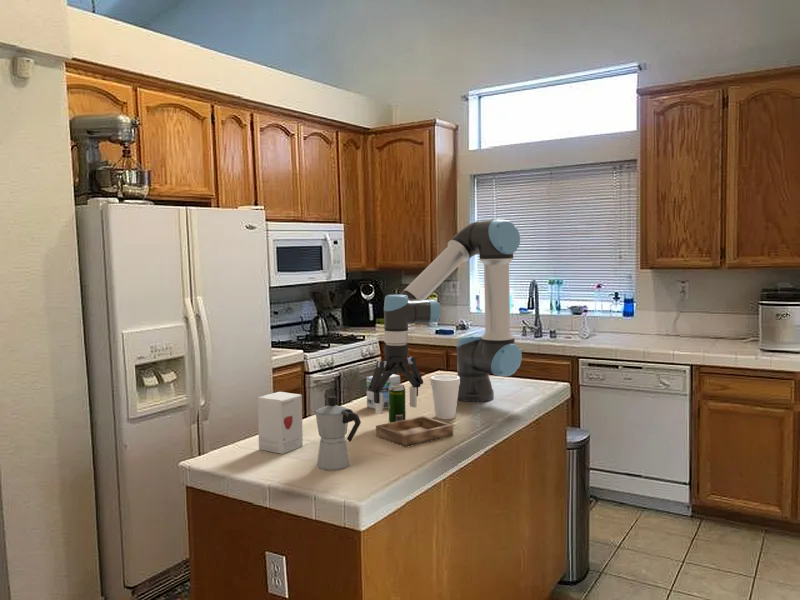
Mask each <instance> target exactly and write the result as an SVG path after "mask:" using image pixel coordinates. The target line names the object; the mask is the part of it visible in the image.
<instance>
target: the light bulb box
mask: <svg viewBox="0 0 800 600" xmlns="http://www.w3.org/2000/svg"><path fill="white" fill-rule="evenodd" d="M381 376H382V375H381ZM372 377H373V375H370V376H366V407H367V408H371V409H374V410H376V403H374V393H373V392H371V391H369V390H368V388H369V385H370V382H371V380H372ZM393 384H401V375H399V374H392V375H391V376H390V377H389V379H388V381H387V382H386V384H385V385H384V387H383V389H382V390H381V392H380V393H383V410H384V409H389V394H388V389H389V385H393Z"/></svg>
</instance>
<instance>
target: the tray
mask: <svg viewBox="0 0 800 600" xmlns="http://www.w3.org/2000/svg"><path fill="white" fill-rule="evenodd" d="M375 436H377V437H376V438H380V439H382V440H384V439H385V440H384V441H387V442H389V441H390V442H389V443H392V442H393V444H395V445H397V444H398V446H400V445H401V446H400V447H403V448H408V446H409V447H413V446H417V445H420V443H421V444H424V442H425V443H427V441H429V442H431V440H433V441H437V440H441V439H444V438H450V437H453V436H454V425H453V424H451V423H448V422H445V421H442V420H439V419H434V418H433V417H432V418H431V417H428V416H425V415H421V416H420V415H419V416H416V417H411V418H406V419H405V420H401V421H396V422H391V423H390V422H387V423H384V424H378V425H375ZM440 438H441V439H440ZM436 439H437V440H436ZM416 444H417V445H416ZM412 445H413V446H412Z"/></svg>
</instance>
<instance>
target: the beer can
mask: <svg viewBox="0 0 800 600" xmlns="http://www.w3.org/2000/svg"><path fill="white" fill-rule="evenodd" d="M388 394H389V408H388V423H391V422H396V421H401V420H405V419H407V417H406V414H407V413H406V387H405V385H404V384H401V383H400V384H393V385H389V389H388Z"/></svg>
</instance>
